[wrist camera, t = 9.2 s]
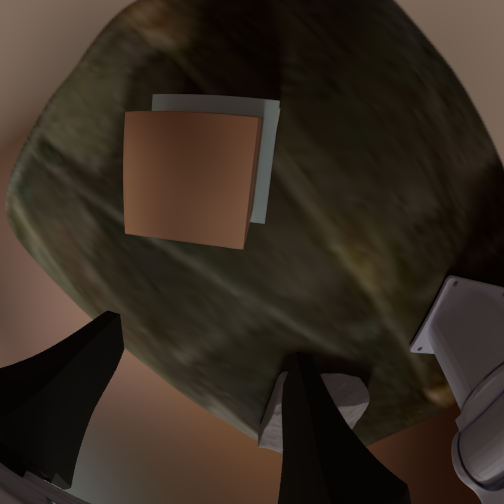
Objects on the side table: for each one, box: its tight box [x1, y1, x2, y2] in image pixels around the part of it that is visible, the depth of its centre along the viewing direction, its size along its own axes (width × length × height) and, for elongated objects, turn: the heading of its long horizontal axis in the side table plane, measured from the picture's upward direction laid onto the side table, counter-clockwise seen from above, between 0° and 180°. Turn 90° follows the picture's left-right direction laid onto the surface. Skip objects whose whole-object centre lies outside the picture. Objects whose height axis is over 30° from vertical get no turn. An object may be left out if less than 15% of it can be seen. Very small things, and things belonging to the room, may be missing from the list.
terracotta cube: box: [123, 111, 264, 249], centre depth 12 cm, size 4×4×4 cm
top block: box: [152, 94, 280, 224], centre depth 15 cm, size 6×6×2 cm
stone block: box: [258, 371, 370, 451], centre depth 27 cm, size 12×5×10 cm
